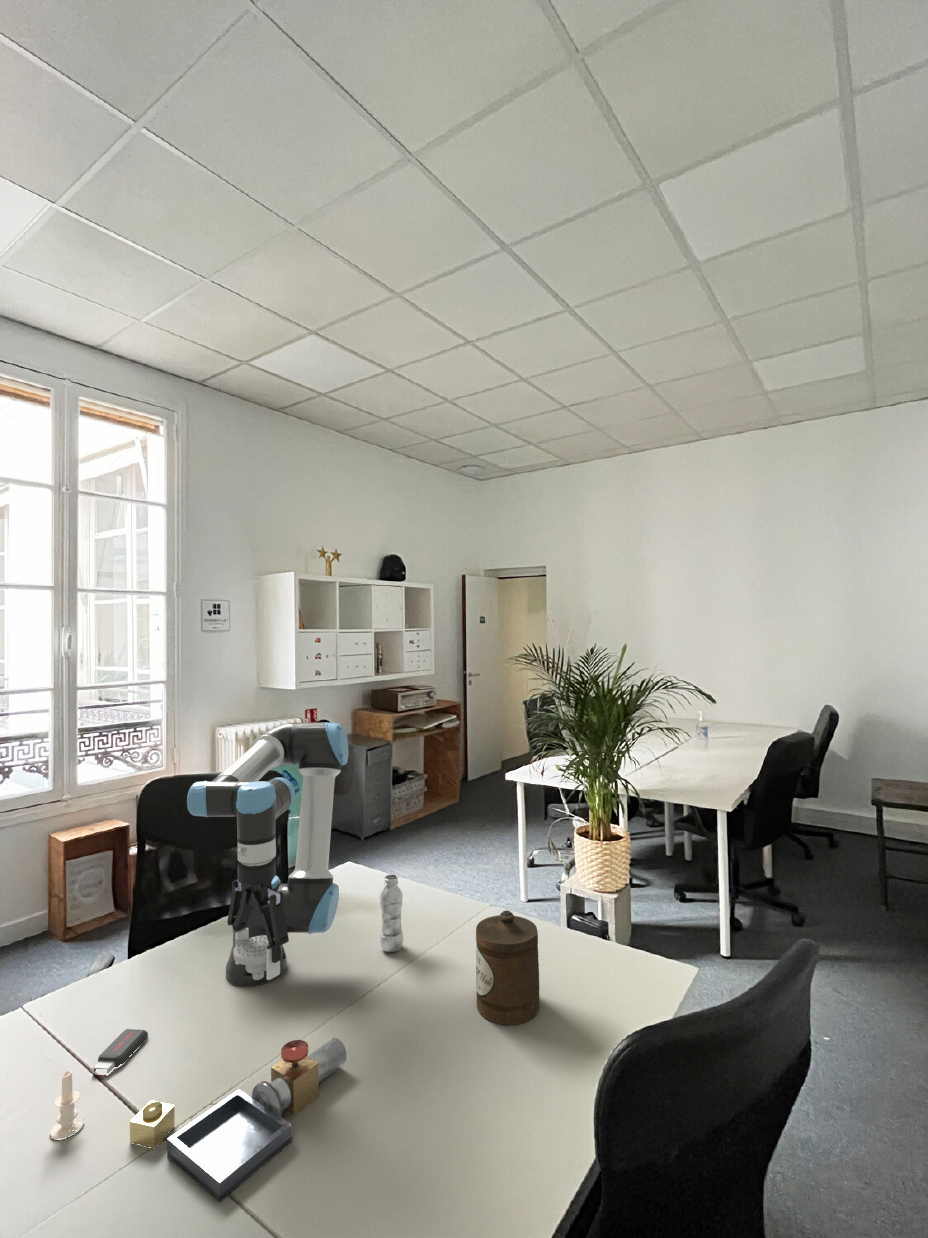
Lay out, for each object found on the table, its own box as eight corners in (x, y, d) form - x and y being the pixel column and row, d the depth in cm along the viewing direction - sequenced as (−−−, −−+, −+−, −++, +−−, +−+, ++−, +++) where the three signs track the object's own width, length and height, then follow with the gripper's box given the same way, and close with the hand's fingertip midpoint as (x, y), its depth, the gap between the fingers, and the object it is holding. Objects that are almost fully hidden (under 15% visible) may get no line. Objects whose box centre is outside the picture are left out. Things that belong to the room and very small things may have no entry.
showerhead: (246, 928, 136) (289, 932, 134) (247, 962, 136) (290, 967, 134) (221, 951, 126) (267, 955, 124) (221, 987, 126) (267, 992, 124)
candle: (47, 1145, 110) (47, 1084, 110) (53, 1123, 114) (53, 1065, 115) (81, 1135, 112) (81, 1076, 112) (86, 1114, 117) (86, 1057, 117)
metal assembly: (167, 1160, 107) (167, 1100, 107) (313, 1054, 133) (312, 1006, 133) (219, 1206, 98) (219, 1141, 98) (364, 1084, 124) (364, 1032, 125)
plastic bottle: (407, 945, 177) (406, 874, 177) (397, 957, 171) (396, 883, 171) (386, 942, 179) (386, 871, 179) (375, 953, 173) (375, 880, 173)
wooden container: (476, 987, 156) (476, 898, 157) (536, 988, 156) (535, 898, 156) (476, 1025, 141) (475, 927, 142) (542, 1026, 141) (541, 927, 141)
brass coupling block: (130, 1144, 110) (129, 1116, 110) (151, 1122, 115) (150, 1096, 115) (154, 1150, 109) (154, 1122, 109) (174, 1128, 113) (174, 1101, 113)
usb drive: (148, 1039, 138) (148, 1027, 138) (112, 1079, 126) (112, 1065, 126) (125, 1038, 139) (125, 1026, 139) (88, 1077, 127) (88, 1063, 127)
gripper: (208, 854, 133) (209, 960, 133) (276, 878, 121) (277, 995, 120) (239, 844, 139) (240, 945, 139) (307, 865, 127) (307, 977, 127)
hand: (257, 968), depth 130 cm, fingers closed on showerhead, 9 cm apart
